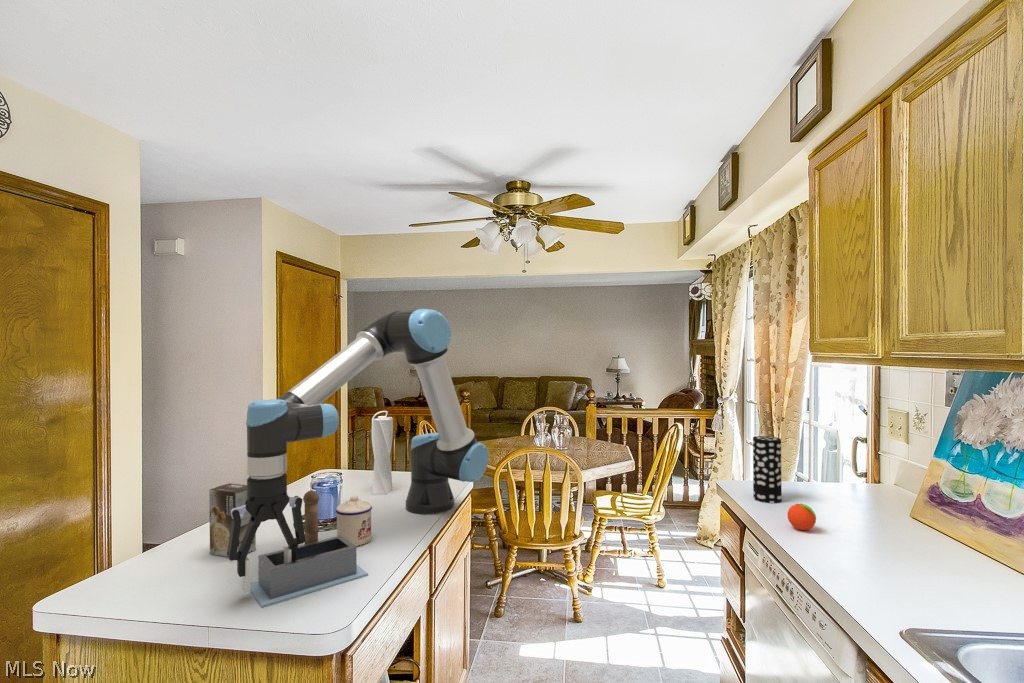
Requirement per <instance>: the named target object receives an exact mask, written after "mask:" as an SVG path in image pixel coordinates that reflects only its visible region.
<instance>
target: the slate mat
mask: <svg viewBox="0 0 1024 683" xmlns="http://www.w3.org/2000/svg"><path fill="white" fill-rule="evenodd" d="M366 575H367V576H369V573H368V572H367V571H366V570H365V569H363V568H362V567H361V566H360V565H358V564H357V574H354V575H351V576H347V577H344V578H341V579H337V580H334V581H331V582H327V583H324V584H321V585H317V586H314V587H311V588H307V589H304V590H301V591H297V592H294V593H291V594H287V595H284V596H281V597H277V598H274V599H271V600H270V598H269V597H268V596H267V594H266V593H265V592H264V590H263V589H262V588H261V586H260V585H259V580H257V581H253V582H250V594H251V595H253V597H254V598H256V599H255V600H256V601H257V603H258V602H259V603H258V604H259V605H261V606H260V608H262V609H263V608H265V607H270V606H272V605H276V604H279V603H282V602H285V601H286V602H287V601H288V600H292V599H295V598H298V597H301V596H304V595H308V594H311V592H312V593H314V592H317V591H321V589H322V590H324V589H327V587H328V588H331V587H334V585H335V586H337V584H338V585H341V584H344V583H347V582H346V581H348V582H350V580H351V581H354V580H357V579H360V578H359V577H361V578H363V576H364V577H367V576H366ZM356 578H357V579H356ZM353 579H354V580H353ZM343 582H344V583H343ZM340 583H341V584H340ZM330 586H331V587H330Z"/></svg>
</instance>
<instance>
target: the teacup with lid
mask: <svg viewBox="0 0 1024 683" xmlns="http://www.w3.org/2000/svg"><path fill="white" fill-rule="evenodd" d="M372 509H373V506H372V503H370V502H369V501H365V500H362V499H361V498H360V499H359V496H358V495H352V496H350V498H349V500H347V501H345V502H343V503H340V504H339V505H338V506H337V507H336V510H335V513H336V537H337V536H342V537H344V538H345V539H346V540H348V541H349V542H350V543H352V544H353V545H355V546H356V547H359V546H358V545H360V546H363V545H362V544H364V545H366V544H368V543H370V541H371V540H372ZM367 542H368V543H367ZM365 543H366V544H365Z"/></svg>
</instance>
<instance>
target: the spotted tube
mask: <svg viewBox="0 0 1024 683" xmlns="http://www.w3.org/2000/svg"><path fill="white" fill-rule="evenodd" d="M752 455H753V456H752V458H753V459H752V474H753V475H752V478H753V479H752V482H753V484H752V485H753V493H752V494H753V500H754V501H757V502H760V503H766V504H778V503H779V504H780V503H781V502H782V499H783V498H782V495H783V494H782V493H783V492H782V438H780V437H776V436H775V437H774V436H769V435H768V436H765V435H763V436H762V435H757V436H752Z"/></svg>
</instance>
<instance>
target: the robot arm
mask: <svg viewBox="0 0 1024 683" xmlns="http://www.w3.org/2000/svg"><path fill="white" fill-rule="evenodd" d="M451 336H452V331H451V326H450V324H449V321H448V319H447V318H446V317H445V315H443V314H442V313H441V312H439V311H438V310H435V309H427V308H419V309H406V310H394V311H390V312H388V313H385V314H384V315H382V316H380V317H378V318H376V319H375V320H373V321H372V322H370V324H367V326H366V327H364V328H363V329H362V330H360V331H359V332H357V333H356V337H355V339H354V340H353V341H352V342H351V343H349V344H347V345H346V346H345V347H344V348H342V349H341V350H339V352H337V353H336V354H335V355H333V356H332V357H330V359H328V360H327V361H326V362H324V363H323V364H322V365H320V366H319V367H318V368H317V369H314V371H313V372H312V373H310V374H309V375H307V376H306V377H305V378H304V379H302V380H301V381H299V382H298V383H297V384H296V385H294V386H292V388H291V389H289V390H288V391H286V392H285V393H284V394H283V395H281V396H279V397H278V398H277V399H275V398H274V399H260V400H254V401H251V402H250V403H249V404H248V406H247V411H246V421H245V422H246V423H245V425H246V453H247V454H246V458H247V459H246V460H247V461H246V468H247V469H246V474H247V475H248V478H246V485H247V500H246V502H245V505H243V506H241V507H238V508H234V507H233V508H231V509H230V514H231V518H232V522H231V529H230V536H229V542H228V549H227V556H228V557H227V558H228V559H229V561H236V569H237V570H236V572H237V574H238V576H239V578H242V590H243V592H244V593H245V594H249V593H250V594H251V591H250V583H251V560H250V558H249V557H248V555H249V553H248V552H249V549H250V547H251V544H252V542H253V539H254V536H255V534H257V531H258V530H259V529H258V528H259V527H260V526H261V523H263V522H266V521H268V520H276V522H277V524H278V526H279V529H280V531H281V533H282V536H283V537H284V540H285V542H286V544H287V546H284V547H283V550H284V564H285V563H288V562H292V561H296V549H297V548H298V546H300V545H304V544H305V526H304V522H303V514H302V505H303V498H301V497H300V496H298V495H295V496H289V495H288V475H287V474H286V472H287V471H288V462H287V461H288V455H287V454H288V453H287V452H288V451H287V450H288V443H290V444H291V443H294V442H300V441H308V440H313V439H322V438H326V437H328V436H332V435H334V434H335V433H336V432H337V430H338V428H339V423H340V421H339V418H340V417H339V413H338V410H337V408H336V407H335V406H334V405H333V404H331V403H323V402H325V401H326V400H328V399H329V398H330V397H331V396H332V395H333V394H335V393H336V392H337V391H338V390H340V389H341V388H342V387H343V386H344V385H346V384H347V383H349V381H351V380H352V379H353V378H354V377H355V376H356V375H358V374H359V373H360V372H361V371H363V370H364V369H365V368H367V366H369V365H370V364H372V362H373V361H380V360H382V359H383V358H384V357H385V356H388V355H390V354H392V353H398V352H402V353H404V355H405V357H406V360H407V363H408V364H409V365H411V366H413V367H415V370H416V373H417V376H418V378H419V382H420V385H421V388H422V391H423V393H424V397H425V400H426V402H427V406H428V408H429V411H430V414H431V417H432V419H433V423H434V426H435V429H436V431H437V432H429V433H423V434H418V435H415V436H413V437H412V439H411V442H410V443H411V444H410V481H411V482H410V486H409V489H408V492H407V496H406V499H405V509H406V510H407V511H408V512H410V513H413V514H419V515H420V514H422V515H431V514H440V513H443V512H447V511H449V510H452V509H453V508H454V507H455V498H454V494H453V492H452V488H451V486H450V482H449V479H451V480H456V481H460V482H468V483H474V482H476V481H478V480H479V479H480V478H482V476H483V475H484V474H485V472H486V469H487V467H488V465H489V458H490V456H489V453H490V452H489V449H488V447H487V446H486V445H485V444H484V443H482V442H478V441H477V438H476V435H475V434H476V433H475V432H474V431H473V429H471V428H468V427H467V424H466V420H465V417H464V414H463V411H462V407H461V405H460V401H459V399H458V395H457V392H456V388H455V385H454V382H453V379H452V376H451V372H450V369H449V368H448V364H447V360H446V355H447V353H448V352H449V349H448V347H449V345H450V343H451V338H450V337H451ZM288 504H289V506H290V507H291V513H292V514H291V515H292V522H293V527H294V534H295V537H294V535H293V534H292V531H291V528H290V526H289V524H288V523H287V520H286V517H285V515H284V512H283V511H284V510H285V508H286V507H287V505H288ZM245 511H248V512H249V513H250V515H251V517H250V520H249V525H248V527H247V530H246V532H245V535H244V537H243V540H242V543H241V545H240V548H239V550H238V552H237V548H238V541H239V534H240V527H241V518H242V517H243V516H244V512H245Z"/></svg>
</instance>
